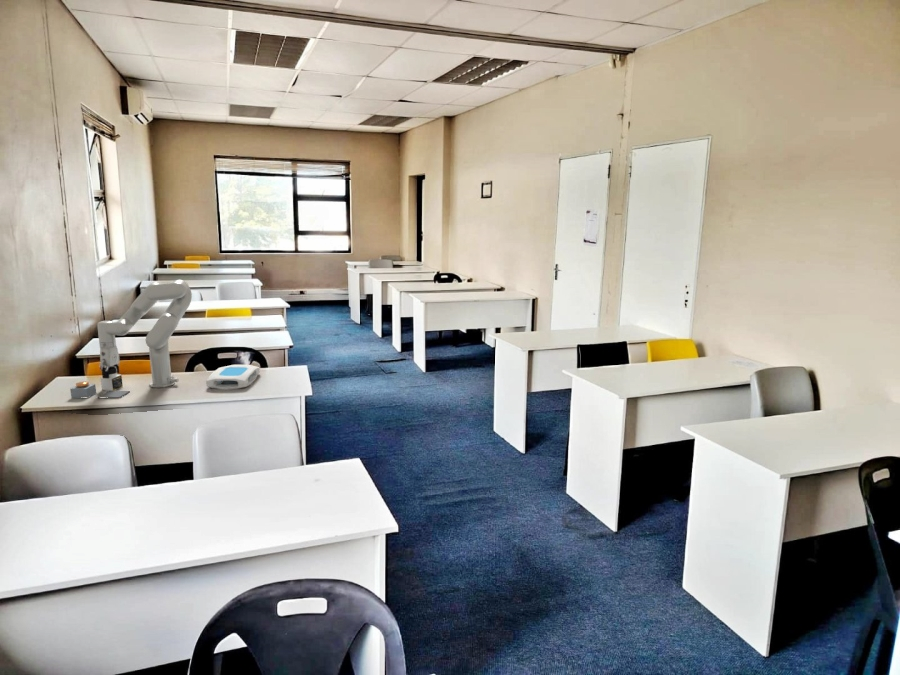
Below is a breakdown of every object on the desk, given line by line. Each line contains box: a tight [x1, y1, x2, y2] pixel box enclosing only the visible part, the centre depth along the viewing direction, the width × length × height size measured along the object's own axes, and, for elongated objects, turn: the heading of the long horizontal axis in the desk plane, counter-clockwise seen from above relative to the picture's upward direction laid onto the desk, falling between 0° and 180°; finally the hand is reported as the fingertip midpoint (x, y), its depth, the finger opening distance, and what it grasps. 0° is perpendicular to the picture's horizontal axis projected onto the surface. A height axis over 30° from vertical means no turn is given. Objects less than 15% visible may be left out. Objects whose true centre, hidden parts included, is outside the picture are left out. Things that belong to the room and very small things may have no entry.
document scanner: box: [205, 364, 261, 390], centre depth 331 cm, size 21×28×6 cm
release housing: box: [69, 383, 97, 399], centre depth 304 cm, size 8×8×5 cm
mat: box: [98, 390, 131, 399], centre depth 306 cm, size 11×10×1 cm
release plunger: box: [75, 381, 90, 388], centre depth 304 cm, size 6×6×7 cm
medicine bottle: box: [100, 366, 124, 391], centre depth 315 cm, size 7×7×12 cm
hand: (111, 375), depth 315 cm, fingers open, 9 cm apart
